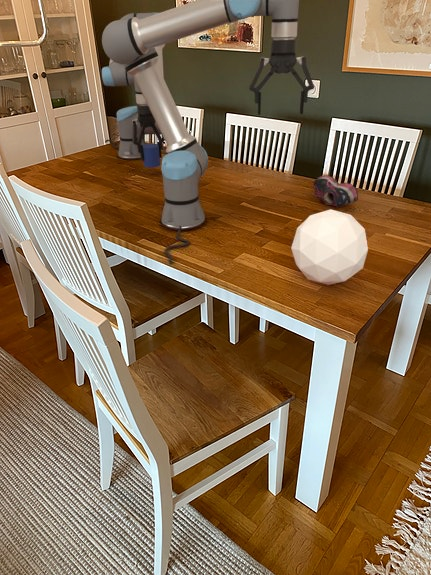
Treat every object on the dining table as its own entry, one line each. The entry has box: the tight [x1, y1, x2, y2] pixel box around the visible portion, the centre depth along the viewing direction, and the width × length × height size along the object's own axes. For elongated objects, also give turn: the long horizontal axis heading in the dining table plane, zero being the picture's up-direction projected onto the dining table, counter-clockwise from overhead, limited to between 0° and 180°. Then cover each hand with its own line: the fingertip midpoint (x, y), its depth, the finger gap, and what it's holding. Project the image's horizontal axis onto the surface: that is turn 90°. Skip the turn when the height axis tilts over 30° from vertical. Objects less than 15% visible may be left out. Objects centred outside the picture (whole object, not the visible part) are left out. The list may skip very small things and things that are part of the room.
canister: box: [142, 142, 161, 169], centre depth 197 cm, size 7×7×9 cm
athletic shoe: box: [311, 174, 359, 208], centre depth 165 cm, size 11×22×12 cm
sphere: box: [290, 208, 369, 286], centre depth 117 cm, size 19×20×20 cm
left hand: (151, 158), depth 198 cm, fingers closed on canister, 7 cm apart
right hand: (280, 113), depth 143 cm, fingers open, 13 cm apart
